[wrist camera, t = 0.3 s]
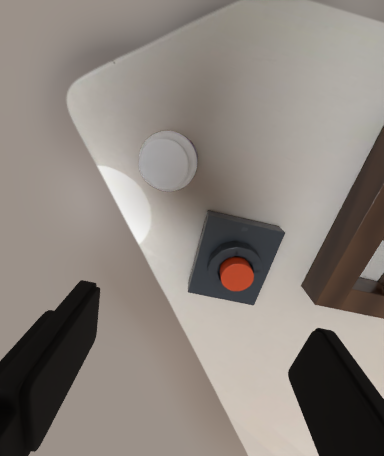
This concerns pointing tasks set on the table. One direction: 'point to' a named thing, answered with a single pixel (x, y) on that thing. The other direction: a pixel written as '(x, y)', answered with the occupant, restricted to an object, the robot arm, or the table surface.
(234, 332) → the table surface
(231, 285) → the button
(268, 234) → the dark grey flat piece
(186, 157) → the pill bottle
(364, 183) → the dock
